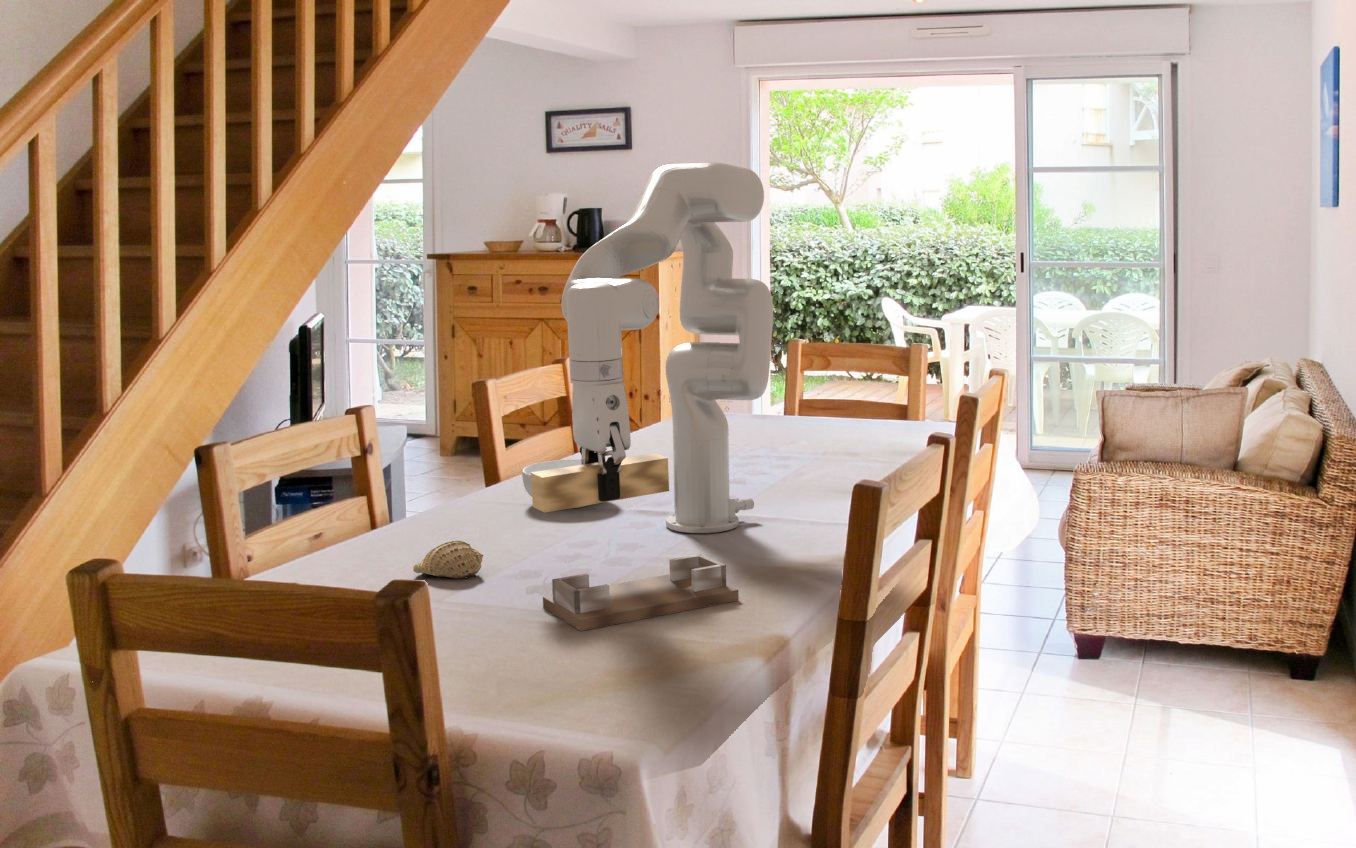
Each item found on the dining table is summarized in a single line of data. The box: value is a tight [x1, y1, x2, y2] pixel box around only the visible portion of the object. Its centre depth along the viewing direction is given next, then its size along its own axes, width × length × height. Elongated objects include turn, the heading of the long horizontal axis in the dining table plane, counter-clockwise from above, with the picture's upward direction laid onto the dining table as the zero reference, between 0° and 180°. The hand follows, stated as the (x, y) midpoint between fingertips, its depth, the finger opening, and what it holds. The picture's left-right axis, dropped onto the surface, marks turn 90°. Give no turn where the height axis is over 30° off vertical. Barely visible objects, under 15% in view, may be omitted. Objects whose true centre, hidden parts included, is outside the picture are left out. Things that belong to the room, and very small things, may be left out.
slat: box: [531, 452, 670, 513], centre depth 180 cm, size 20×4×5 cm, turn 119°
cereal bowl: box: [521, 458, 588, 510], centre depth 234 cm, size 17×17×7 cm
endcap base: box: [542, 553, 739, 632], centre depth 171 cm, size 24×12×4 cm, turn 119°
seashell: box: [412, 540, 484, 580], centre depth 187 cm, size 8×6×10 cm
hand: (602, 495), depth 180 cm, fingers closed on slat, 4 cm apart
